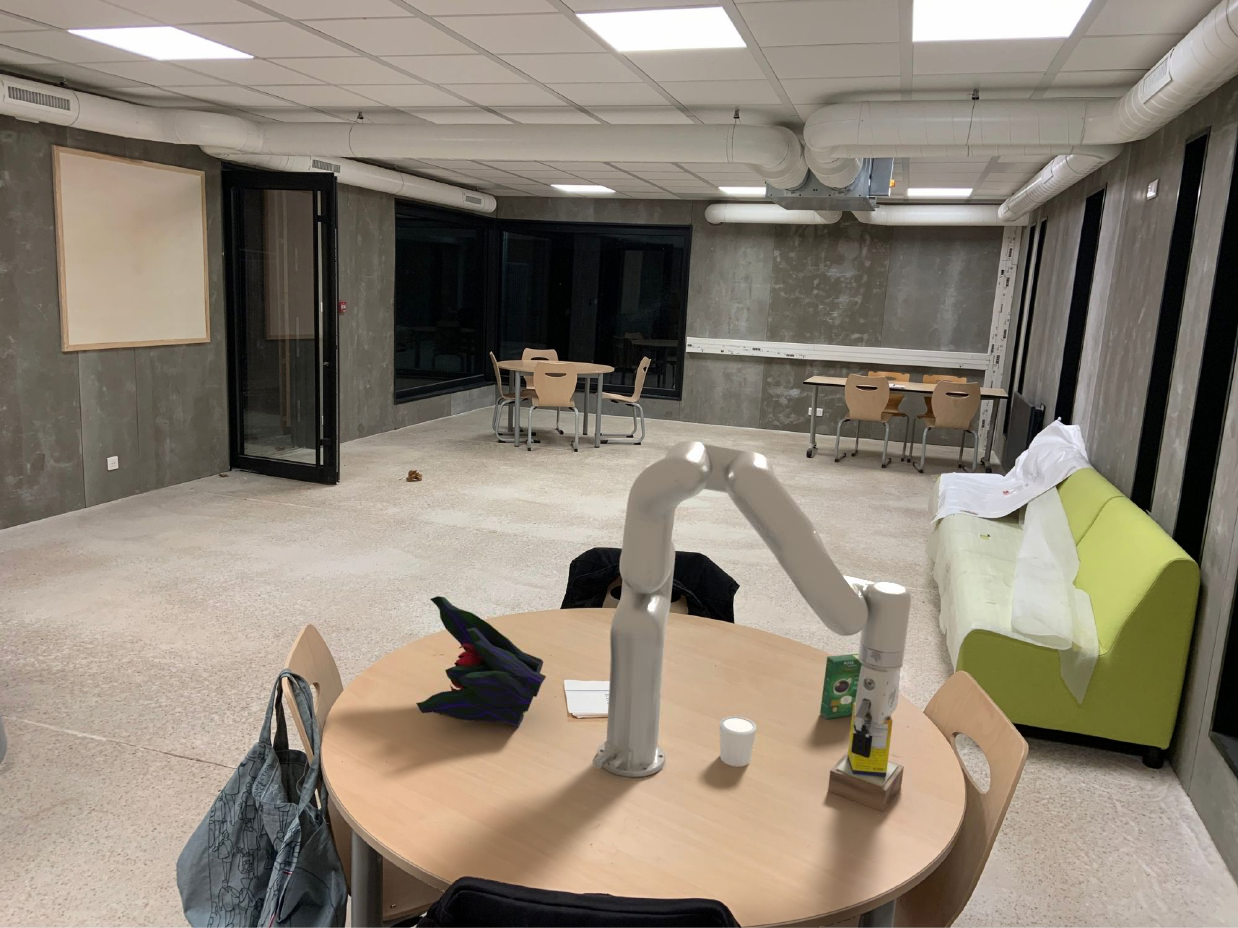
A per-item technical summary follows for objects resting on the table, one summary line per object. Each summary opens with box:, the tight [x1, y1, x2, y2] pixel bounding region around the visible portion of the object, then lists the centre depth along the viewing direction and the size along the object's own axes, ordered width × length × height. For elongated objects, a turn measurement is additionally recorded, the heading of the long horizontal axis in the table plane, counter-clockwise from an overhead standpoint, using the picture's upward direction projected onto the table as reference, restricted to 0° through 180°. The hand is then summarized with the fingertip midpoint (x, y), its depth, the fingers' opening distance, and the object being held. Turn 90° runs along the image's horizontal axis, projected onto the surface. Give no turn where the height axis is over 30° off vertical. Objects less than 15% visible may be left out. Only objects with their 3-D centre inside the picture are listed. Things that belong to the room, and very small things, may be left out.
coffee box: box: [819, 653, 862, 720], centre depth 184 cm, size 8×3×13 cm, turn 110°
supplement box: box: [847, 702, 893, 776], centre depth 156 cm, size 6×6×11 cm
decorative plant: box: [415, 595, 546, 728], centre depth 178 cm, size 21×26×30 cm
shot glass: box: [719, 715, 758, 767], centre depth 166 cm, size 7×7×7 cm
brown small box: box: [827, 750, 905, 812], centre depth 158 cm, size 10×10×4 cm
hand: (870, 743), depth 157 cm, fingers open, 9 cm apart
